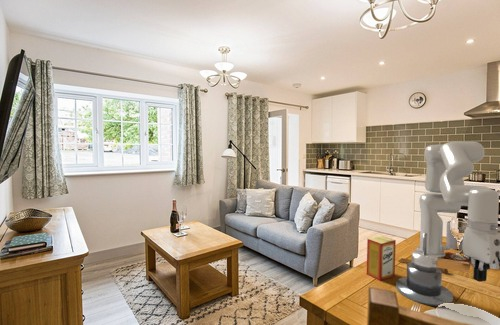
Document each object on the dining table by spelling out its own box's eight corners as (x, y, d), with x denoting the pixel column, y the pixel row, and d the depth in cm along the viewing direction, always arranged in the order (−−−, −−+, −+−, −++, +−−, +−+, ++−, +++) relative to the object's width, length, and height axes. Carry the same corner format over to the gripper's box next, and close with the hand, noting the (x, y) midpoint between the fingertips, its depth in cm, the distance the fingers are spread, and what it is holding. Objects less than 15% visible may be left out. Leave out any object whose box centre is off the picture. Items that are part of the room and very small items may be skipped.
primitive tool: (397, 262, 127) (398, 255, 127) (401, 259, 131) (401, 252, 131) (446, 276, 114) (447, 268, 114) (448, 272, 118) (449, 264, 118)
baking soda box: (379, 280, 109) (380, 242, 108) (366, 274, 114) (367, 238, 114) (394, 275, 113) (395, 239, 112) (380, 269, 119) (381, 235, 118)
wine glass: (457, 244, 151) (458, 218, 150) (473, 250, 141) (473, 223, 141) (441, 244, 151) (442, 219, 150) (455, 251, 141) (456, 223, 140)
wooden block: (413, 269, 97) (414, 235, 97) (410, 261, 105) (411, 229, 104) (472, 279, 90) (474, 242, 89) (464, 269, 97) (466, 235, 97)
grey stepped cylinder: (426, 279, 110) (427, 257, 109) (466, 304, 92) (467, 278, 91) (386, 281, 108) (386, 259, 107) (418, 308, 90) (419, 280, 89)
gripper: (517, 232, 80) (514, 291, 81) (469, 219, 95) (467, 269, 96) (496, 233, 79) (494, 292, 80) (451, 220, 94) (449, 270, 95)
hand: (479, 280), depth 88 cm, fingers closed
